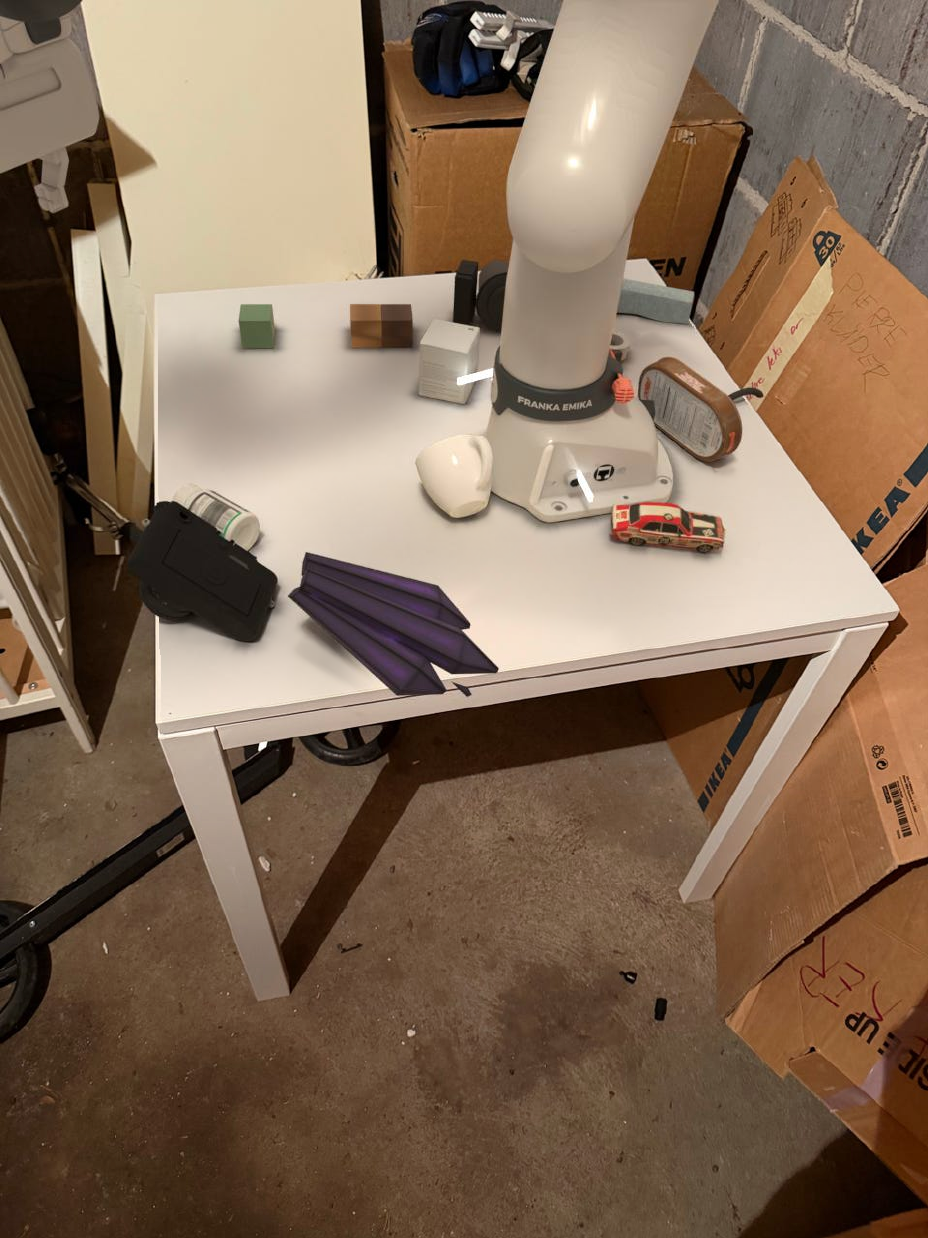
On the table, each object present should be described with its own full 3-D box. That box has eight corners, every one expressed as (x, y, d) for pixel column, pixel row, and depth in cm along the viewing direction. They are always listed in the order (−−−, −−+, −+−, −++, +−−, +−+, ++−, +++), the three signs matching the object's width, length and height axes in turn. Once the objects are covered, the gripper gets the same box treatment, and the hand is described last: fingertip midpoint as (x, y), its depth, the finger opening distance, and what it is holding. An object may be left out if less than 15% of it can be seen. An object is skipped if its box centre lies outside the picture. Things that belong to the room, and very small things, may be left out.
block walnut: (411, 331, 119) (411, 303, 116) (412, 347, 116) (412, 319, 113) (381, 331, 119) (380, 303, 116) (382, 347, 116) (381, 320, 113)
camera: (230, 664, 85) (255, 603, 90) (270, 635, 81) (294, 573, 86) (95, 584, 79) (130, 523, 84) (131, 548, 74) (165, 486, 80)
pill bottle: (258, 549, 91) (201, 515, 94) (264, 509, 89) (204, 474, 92) (224, 563, 88) (166, 526, 91) (229, 521, 85) (168, 485, 88)
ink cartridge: (459, 312, 122) (462, 256, 116) (475, 315, 122) (478, 259, 116) (451, 331, 119) (453, 274, 113) (467, 333, 119) (471, 277, 113)
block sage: (275, 331, 117) (272, 303, 114) (273, 348, 115) (270, 320, 112) (244, 331, 117) (240, 303, 114) (242, 348, 114) (238, 320, 111)
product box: (432, 369, 113) (433, 317, 108) (477, 378, 112) (481, 326, 107) (417, 395, 109) (418, 343, 104) (464, 405, 109) (468, 353, 103)
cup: (479, 522, 98) (460, 468, 100) (529, 479, 91) (509, 421, 92) (421, 527, 94) (402, 470, 95) (469, 483, 86) (448, 422, 87)
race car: (611, 523, 98) (612, 491, 95) (723, 529, 95) (728, 496, 92) (607, 554, 95) (608, 522, 91) (723, 561, 92) (728, 528, 89)
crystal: (311, 544, 84) (496, 637, 87) (258, 645, 78) (457, 740, 81) (327, 508, 78) (525, 609, 81) (270, 614, 72) (485, 719, 75)
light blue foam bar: (539, 257, 126) (537, 270, 129) (529, 300, 125) (528, 312, 128) (696, 286, 125) (691, 299, 128) (688, 330, 124) (683, 341, 127)
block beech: (381, 331, 119) (380, 303, 116) (382, 347, 116) (381, 320, 113) (351, 331, 118) (349, 303, 115) (351, 347, 116) (350, 320, 113)
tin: (732, 468, 103) (754, 408, 97) (713, 477, 102) (734, 416, 95) (646, 402, 111) (661, 342, 105) (627, 409, 110) (641, 349, 103)
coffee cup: (537, 269, 124) (549, 296, 116) (504, 318, 128) (513, 346, 120) (490, 237, 120) (499, 262, 113) (457, 288, 124) (464, 316, 117)
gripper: (-180, 79, 52) (-81, 297, 63) (85, 1, 64) (131, 195, 74) (-244, 56, 54) (-138, 271, 65) (24, -16, 66) (78, 176, 76)
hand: (8, 230), depth 70 cm, fingers open, 8 cm apart
